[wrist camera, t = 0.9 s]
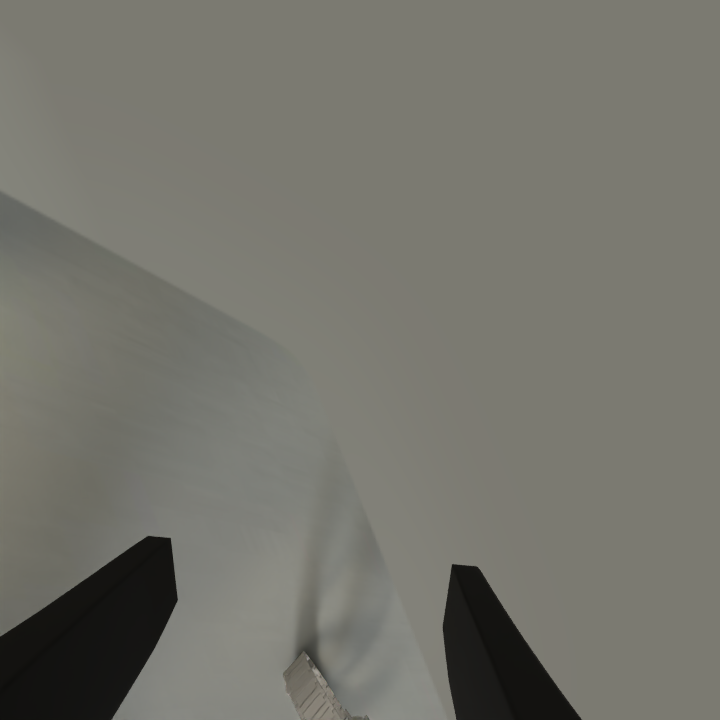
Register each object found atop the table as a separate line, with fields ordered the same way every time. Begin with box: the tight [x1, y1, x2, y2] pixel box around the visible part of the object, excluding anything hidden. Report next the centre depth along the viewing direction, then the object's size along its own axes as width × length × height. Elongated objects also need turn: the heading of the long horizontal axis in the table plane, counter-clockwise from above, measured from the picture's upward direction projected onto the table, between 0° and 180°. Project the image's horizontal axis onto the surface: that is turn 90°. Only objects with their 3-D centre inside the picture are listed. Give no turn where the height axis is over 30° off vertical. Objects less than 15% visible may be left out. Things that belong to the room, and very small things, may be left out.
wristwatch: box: [283, 651, 370, 720], centre depth 18 cm, size 3×5×5 cm, turn 36°
